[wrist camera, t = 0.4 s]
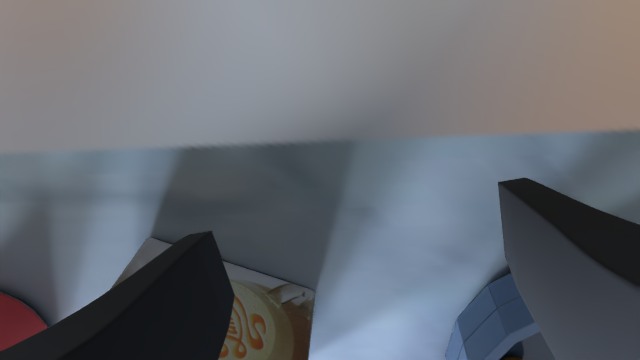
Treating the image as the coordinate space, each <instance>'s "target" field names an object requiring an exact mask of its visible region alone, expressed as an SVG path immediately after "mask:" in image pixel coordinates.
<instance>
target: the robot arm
mask: <svg viewBox="0 0 640 360" xmlns="http://www.w3.org/2000/svg"><path fill="white" fill-rule="evenodd" d="M498 187H499V197H500V208H501V218H502V229H503V239H504V250H505V257H506V259H507V262H508V265H509V268H510V270H511V273H512V276H513V278H514V281H515V284H516V286H517V289H518V291H519V293H520V295H521V297H522V298H523V300H524V302H525V304H526V306H527V308H528V310H529V311H530V313H531V315H532V317H533V319H534V321H535V322H536V324H537V326H538V328H539V330H540V332H541V333H542V335H543V337H544V339H545V341H546V343H547V344H548V346H549V348H550V350H551V352H552V353H553V355H554V357H555V359H556V360H640V225H639V224H636V223H633V222H630V221H627V220H624V219H621V218H619V217H616V216H613V215H611V214H608V213H605V212H603V211H600V210H598V209H595V208H593V207H590V206H588V205H586V204H583V203H581V202H579V201H576V200H574V199H572V198H570V197H568V196H565V195H563V194H561V193H559V192H557V191H555V190H553V189H550V188H548V187H546V186H544V185H542V184H540V183H537V182H535V181H533V180H530V179H528V178H520V179H514V180H508V181H503V182H498ZM234 297H235V294H234V291H233V288H232V286H231V283H230V280H229V277H228V275H227V272H226V269H225V266H224V264H223V261H222V258H221V255H220V253H219V250H218V247H217V244H216V242H215V239H214V236H213V233H212V231H208V232H202V233H196V234H190V235H188V236H186V237H184V238H183V239H181V240H179V241H178V242H176V243H175V244H173V245H172V246H170V247H169V248H168V249H166V250H165V251H163V252H162V253H161V254H159V255H158V256H157V257H155V258H154V259H153V260H151V261H150V262H149V263H147V264H146V265H144V266H143V267H142V268H140V269H139V270H138V271H136V272H135V273H134V274H132V275H131V276H129V277H128V278H127V279H125V280H124V281H122V282H121V283H119V284H118V285H116V286H115V287H114V288H112V289H111V290H109V291H108V292H106V293H105V294H103V295H102V296H101V297H99V298H98V299H96V300H94V301H93V302H91V303H90V304H88V305H87V306H85V307H83V308H82V309H80V310H79V311H77V312H75V313H73V314H72V315H70V316H68V317H66V318H65V319H63V320H61V321H60V322H58V323H56V324H54V325H52V326H51V327H49V328H47V329H45V330H43V331H41V332H39V333H37V334H35V335H33V336H31V337H29V338H27V339H25V340H23V341H21V342H19V343H17V344H15V345H13V346H11V347H9V348H7V349H4V350H2V351H0V360H218V359H219V356H220V353H221V350H222V347H223V344H224V341H225V338H226V335H227V332H228V329H229V325H230V320H231V315H232V309H233V303H234Z"/></svg>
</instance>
